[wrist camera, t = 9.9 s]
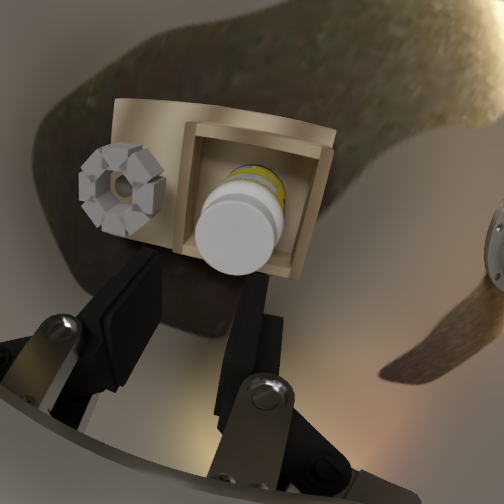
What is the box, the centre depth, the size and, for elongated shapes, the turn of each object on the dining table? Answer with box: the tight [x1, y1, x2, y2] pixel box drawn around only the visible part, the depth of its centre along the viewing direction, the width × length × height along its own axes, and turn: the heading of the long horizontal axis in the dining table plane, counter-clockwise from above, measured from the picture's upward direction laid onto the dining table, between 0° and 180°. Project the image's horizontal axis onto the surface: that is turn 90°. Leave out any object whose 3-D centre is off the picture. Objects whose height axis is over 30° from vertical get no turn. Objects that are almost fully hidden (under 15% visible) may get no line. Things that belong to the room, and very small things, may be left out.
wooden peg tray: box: [110, 98, 336, 280], centre depth 22 cm, size 17×12×6 cm
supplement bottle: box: [195, 164, 286, 275], centre depth 18 cm, size 5×5×8 cm
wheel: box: [79, 142, 166, 237], centre depth 19 cm, size 6×6×2 cm
